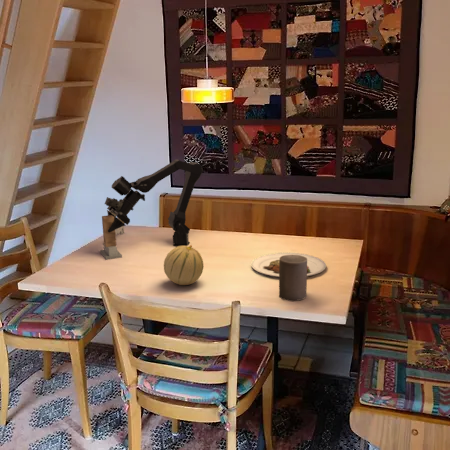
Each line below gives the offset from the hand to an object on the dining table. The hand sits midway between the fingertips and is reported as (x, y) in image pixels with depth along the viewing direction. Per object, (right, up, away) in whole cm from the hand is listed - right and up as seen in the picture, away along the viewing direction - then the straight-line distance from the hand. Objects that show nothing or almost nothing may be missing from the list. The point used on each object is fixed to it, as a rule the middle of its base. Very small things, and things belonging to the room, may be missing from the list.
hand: (105, 229), depth 237 cm
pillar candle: (+76, -23, -47) cm, 92 cm away
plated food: (+78, -16, -17) cm, 81 cm away
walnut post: (+1, -7, +2) cm, 7 cm away
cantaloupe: (+37, -20, -33) cm, 54 cm away
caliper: (-2, -5, +29) cm, 30 cm away
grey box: (+1, -11, +4) cm, 12 cm away
